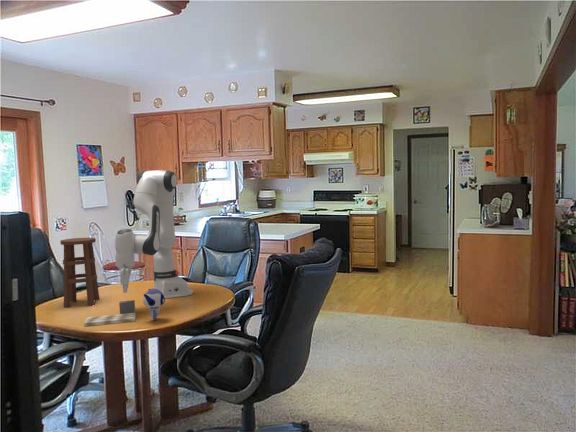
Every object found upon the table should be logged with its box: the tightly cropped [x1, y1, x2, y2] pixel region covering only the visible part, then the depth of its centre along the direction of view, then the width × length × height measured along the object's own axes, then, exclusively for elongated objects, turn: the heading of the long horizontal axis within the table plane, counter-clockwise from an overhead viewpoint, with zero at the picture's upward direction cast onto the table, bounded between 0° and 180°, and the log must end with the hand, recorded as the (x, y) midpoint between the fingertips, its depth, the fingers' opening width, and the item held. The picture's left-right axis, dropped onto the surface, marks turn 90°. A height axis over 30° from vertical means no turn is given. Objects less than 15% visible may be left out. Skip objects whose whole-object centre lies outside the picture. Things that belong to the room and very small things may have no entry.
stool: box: [59, 237, 100, 309], centre depth 259 cm, size 20×35×20 cm
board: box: [83, 312, 137, 327], centre depth 225 cm, size 22×10×2 cm, turn 106°
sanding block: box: [119, 299, 136, 314], centre depth 237 cm, size 7×4×6 cm, turn 106°
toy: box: [142, 288, 166, 321], centre depth 223 cm, size 11×10×15 cm
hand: (125, 290), depth 236 cm, fingers open, 8 cm apart
